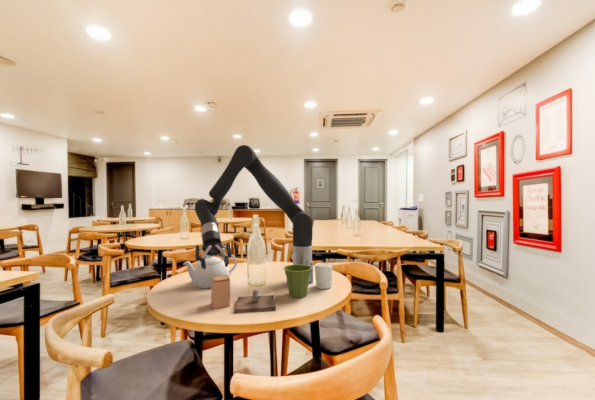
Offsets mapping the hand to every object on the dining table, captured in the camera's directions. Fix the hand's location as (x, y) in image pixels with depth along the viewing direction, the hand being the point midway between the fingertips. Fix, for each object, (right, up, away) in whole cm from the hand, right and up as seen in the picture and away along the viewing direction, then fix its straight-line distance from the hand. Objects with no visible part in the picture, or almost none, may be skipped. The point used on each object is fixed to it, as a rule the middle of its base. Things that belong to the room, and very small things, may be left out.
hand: (215, 266), depth 104 cm
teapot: (-8, -13, +19) cm, 24 cm away
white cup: (+45, -12, +13) cm, 48 cm away
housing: (+4, -12, -8) cm, 15 cm away
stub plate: (+17, -12, -8) cm, 22 cm away
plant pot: (+33, -12, +3) cm, 35 cm away
